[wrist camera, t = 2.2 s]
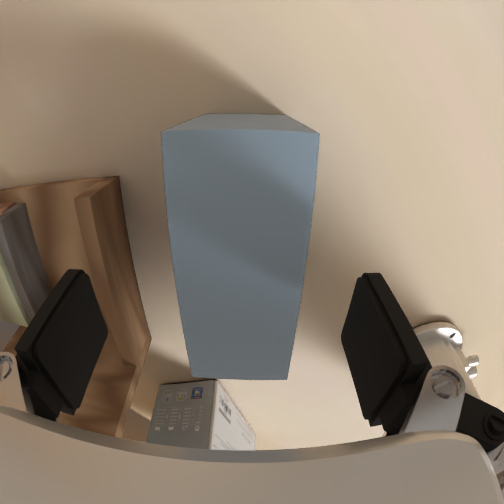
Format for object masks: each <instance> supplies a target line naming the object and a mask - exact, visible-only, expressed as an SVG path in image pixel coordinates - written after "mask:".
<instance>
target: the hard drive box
mask: <svg viewBox="0 0 504 504" xmlns="http://www.w3.org/2000/svg"><path fill="white" fill-rule="evenodd" d="M146 443H151V444H158V445H166V446H175V447H184V448H196V449H211V450H255V433H254V431H253V430H252V429H251V427H250V426H249V424H248V423H247V422H246V420H245V419H244V418H243V416H242V415H241V414H240V412H239V411H238V410H237V408H236V407H235V405H234V404H233V402H232V401H231V399H230V397H229V396H228V394H227V393H226V392H225V391H224V389H223V388H222V386H221V385H220V383H219V382H218V381H217V380H216V381H214V380H208V381H200V382H191V383H181V384H170V385H160V386H159V390H158V393H157V397H156V402H155V406H154V410H153V414H152V419H151V423H150V428H149V432H148V436H147V441H146Z"/></svg>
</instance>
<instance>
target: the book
mask: <svg viewBox="0 0 504 504" xmlns="http://www.w3.org/2000/svg"><path fill="white" fill-rule="evenodd" d="M319 136H320V133H318V132H316V131H315V130H313V129H311V128H309V127H307V126H306V125H304V124H302V123H300V122H298V121H296V120H295V119H293V118H291V117H289V116H287V115H275V114H239V113H225V114H205V115H202V116H200V117H197V118H194V119H192V120H189V121H186V122H184V123H181V124H179V125H176V126H174V127H171V128H169V129H167V130H164V131H162V132H161V137H162V156H163V172H164V185H165V197H166V208H167V219H168V228H169V237H170V246H171V254H172V262H173V269H174V276H175V283H176V290H177V297H178V303H179V309H180V315H181V321H182V327H183V333H184V338H185V343H186V349H187V354H188V359H189V364H190V369H191V374H192V377H200V378H216V379H241V380H287V377H288V372H289V366H290V361H291V355H292V350H293V344H294V338H295V333H296V327H297V321H298V314H299V308H300V302H301V295H302V288H303V282H304V274H305V267H306V260H307V252H308V245H309V237H310V228H311V220H312V211H313V202H314V192H315V182H316V172H317V161H318V149H319Z"/></svg>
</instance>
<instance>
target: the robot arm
mask: <svg viewBox="0 0 504 504" xmlns="http://www.w3.org/2000/svg"><path fill="white" fill-rule="evenodd" d="M107 336H108V329H107V326H106V323H105V320H104V318H103V315H102V312H101V310H100V307H99V304H98V301H97V299H96V296H95V293H94V290H93V287H92V284H91V281H90V277H89V275H88V274H86V273H85V271H84V270H82V269H68V270H67V271H66V272H65V274H64V275H63V276H62V278H61V279H60V280H59V282H58V283H57V284H56V286H55V287H54V288H53V290H52V291H51V293H50V294H49V295H48V297H47V298H46V300H45V301H44V303H43V304H42V306H41V307H40V308H39V310H38V311H37V313H36V314H35V316H34V317H33V319H32V320H31V322H30V324H29V325H28V327H27V328H26V330H25V331H24V333H23V335H22V336H21V338H20V340H19V341H18V343H17V344H16V346H15V348H14V349H15V351H16V352H17V354H16V356H14V355H13V354H12V353H9V352H1V353H0V504H504V413H503V412H502V411H501V410H499V409H498V408H496V407H494V406H491V405H489V404H487V403H486V402H484V401H482V400H481V399H480V397H479V395H478V393H477V391H476V389H475V387H474V385H473V383H472V381H471V379H473V378H475V377H476V374H477V369H476V365H477V364H478V363H479V358H478V356H477V355H473V356H469V357H467V358H466V357H465V356H464V354H463V352H462V351H461V347H462V336H461V334H460V332H459V330H458V329H457V327H455V326H454V325H453V324H451V323H448V322H433V323H429V324H425V325H421V326H419V327H417V328H414V329H413V328H412V326H411V325H410V323H409V321H408V319H407V317H406V316H405V314H404V312H403V311H402V309H401V307H400V305H399V303H398V302H397V300H396V298H395V297H394V295H393V293H392V291H391V290H390V288H389V286H388V285H387V283H386V281H385V280H384V278H383V276H382V275H381V274H380V273H364V274H363V275H362V277H359V278H358V279H357V282H356V285H355V289H354V293H353V296H352V300H351V303H350V307H349V310H348V314H347V317H346V320H345V324H344V327H343V330H342V334H341V341H342V345H343V348H344V351H345V354H346V358H347V361H348V364H349V368H350V371H351V374H352V378H353V381H354V385H355V388H356V392H357V395H358V399H359V403H360V406H361V410H362V414H363V417H364V418H365V419H368V420H369V424H370V427H372V426H377V425H382V426H383V429H384V431H385V432H384V434H383V436H382V437H380V438H375V439H369V440H363V441H357V442H351V443H344V444H336V445H328V446H320V447H310V448H298V449H283V450H211V449H196V448H184V447H175V446H166V445H158V444H151V443H145V442H139V441H133V440H127V439H122V438H117V437H112V436H108V435H103V434H99V433H95V432H91V431H87V430H83V429H79V428H76V427H72V426H69V425H65V424H62V423H61V420H60V417H59V414H60V411H61V412H63V413H66V414H70V415H73V416H74V414H75V411H76V409H78V408H79V407H80V406H81V403H82V400H83V397H84V395H85V392H86V389H87V386H88V384H89V381H90V378H91V376H92V373H93V371H94V368H95V366H96V363H97V361H98V358H99V356H100V353H101V351H102V348H103V346H104V343H105V341H106V339H107Z"/></svg>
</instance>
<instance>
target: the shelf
mask: <svg viewBox="0 0 504 504" xmlns="http://www.w3.org/2000/svg"><path fill="white" fill-rule="evenodd" d="M68 269H82V270H84V271H85V273H86V274H88V275H89V277H90V281H91V284H92V287H93V290H94V293H95V296H96V299H97V301H98V304H99V307H100V310H101V312H102V315H103V318H104V320H105V323H106V326H107V329H108V336H107V339H106V341H105V343H104V346H103V348H102V351H101V353H100V356H99V358H98V361H97V363H96V366H95V368H94V371H93V373H92V376H91V378H90V381H89V384H88V386H87V389H86V392H85V395H84V397H83V400H82V403H81V406H80V407H79V408H78V409H76V411H75V414H74V416H73V415H70V414H66V413H63V412H61V411H60V414H59V417H60V420H61V423H62V424H65V425H69V426H72V427H76V428H79V429H83V430H87V431H91V432H95V433H99V434H103V435H108V436H112V437H117V438H122V434H123V430H124V427H125V423H126V420H127V416H128V412H129V409H130V406H131V402H132V399H133V396H134V392H135V389H136V386H137V382H138V379H139V376H140V373H141V370H142V367H143V364H144V360H145V357H146V354H147V351H148V348H149V345H150V342H151V335H150V332H149V328H148V324H147V321H146V317H145V313H144V309H143V305H142V301H141V297H140V293H139V288H138V284H137V280H136V275H135V270H134V266H133V261H132V256H131V251H130V245H129V240H128V234H127V228H126V222H125V216H124V209H123V203H122V195H121V188H120V180H119V176H114V177H101V178H89V179H78V180H69V181H60V182H51V183H43V184H36V185H29V186H22V187H15V188H9V189H3V190H0V320H1V321H5V322H9V323H13V324H17V325H20V327H19V328H18V330H17V331H16V332H15V334H14V335H13V337H12V338H11V340H10V341H9V343H8V344H7V346H6V347H5V349H4V350H3V352H9V353H12V354H13V355H14V356H16V354H17V352H16V351H15V349H14V348H15V346H16V344H17V343H18V341H19V340H20V338H21V336H22V335H23V333H24V331H25V330H26V328H27V327H28V325H29V324H30V322H31V320H32V319H33V317H34V316H35V314H36V313H37V311H38V310H39V308H40V307H41V306H42V304H43V303H44V301H45V300H46V298H47V297H48V295H49V294H50V293H51V291H52V290H53V288H54V287H55V286H56V284H57V283H58V282H59V280H60V279H61V278H62V276H63V275H64V274H65V272H66V271H67V270H68Z"/></svg>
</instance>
